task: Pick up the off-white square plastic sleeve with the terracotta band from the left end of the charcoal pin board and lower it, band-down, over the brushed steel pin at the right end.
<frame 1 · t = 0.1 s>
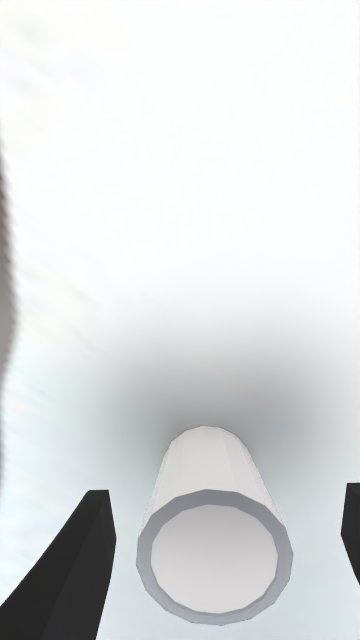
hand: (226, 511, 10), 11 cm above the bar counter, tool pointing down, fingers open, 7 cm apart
white cylinder: (206, 465, 22), on the bar counter
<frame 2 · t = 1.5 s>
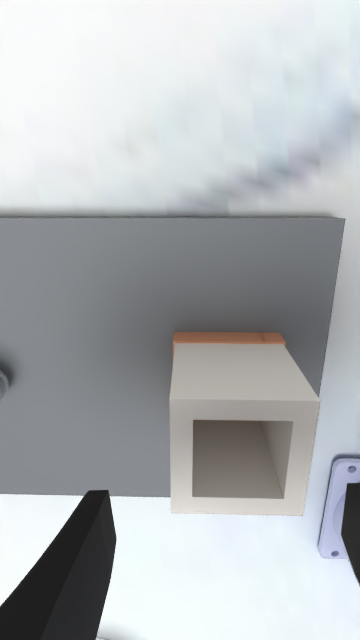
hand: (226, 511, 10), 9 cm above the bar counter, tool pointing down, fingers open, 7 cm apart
sleeve: (224, 378, 18), point 1 cm above the bar counter, touching pin board
pin board: (115, 364, 20), on the bar counter
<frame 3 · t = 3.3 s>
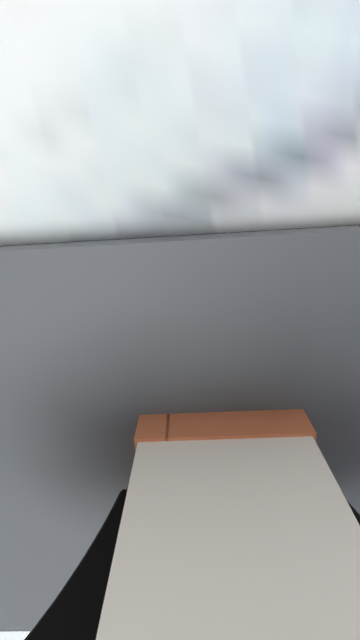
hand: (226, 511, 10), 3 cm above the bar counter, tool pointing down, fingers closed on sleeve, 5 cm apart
sleeve: (222, 476, 12), point 1 cm above the bar counter, touching gripper, pin board
pin board: (64, 452, 13), on the bar counter
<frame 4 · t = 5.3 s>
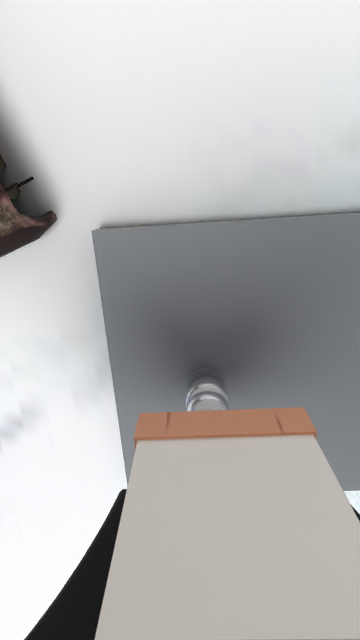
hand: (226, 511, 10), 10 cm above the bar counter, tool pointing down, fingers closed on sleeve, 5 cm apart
sleeve: (222, 475, 12), point 9 cm above the bar counter, touching gripper
steel pin: (205, 378, 19), resting on pin board
pin board: (309, 360, 20), on the bar counter
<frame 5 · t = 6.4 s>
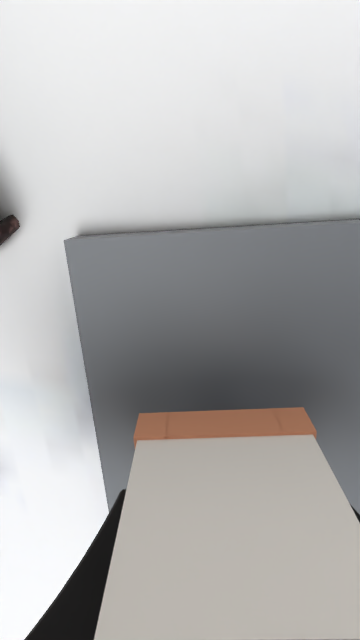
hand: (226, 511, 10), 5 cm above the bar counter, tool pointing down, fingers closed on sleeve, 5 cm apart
sleeve: (222, 475, 12), point 4 cm above the bar counter, touching gripper
pin board: (350, 406, 15), on the bar counter
when the fingers open (5 cm above the bar counter, at t = 7.4 s): sleeve drops 2 cm, resting on pin board.
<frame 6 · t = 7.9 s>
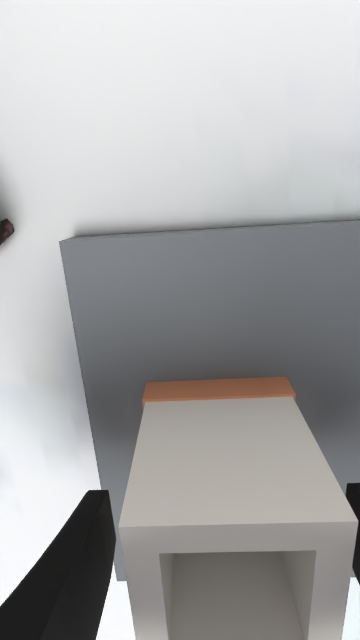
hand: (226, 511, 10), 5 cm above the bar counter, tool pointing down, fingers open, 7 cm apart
sleeve: (217, 437, 14), point 1 cm above the bar counter, touching pin board
pin board: (354, 411, 15), on the bar counter
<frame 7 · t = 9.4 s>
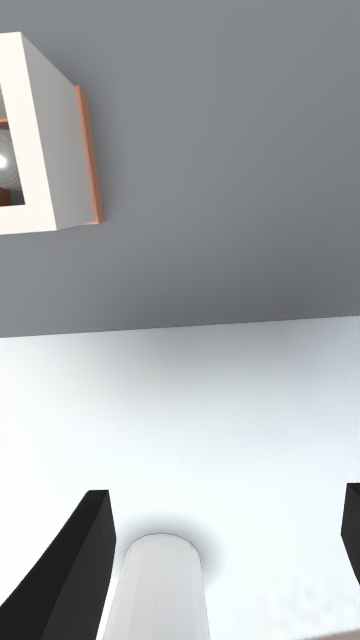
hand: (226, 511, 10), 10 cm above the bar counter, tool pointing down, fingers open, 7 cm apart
sleeve: (39, 166, 15), point 1 cm above the bar counter, touching pin board
steel pin: (40, 167, 16), resting on pin board
pin board: (174, 160, 17), on the bar counter
white cylinder: (162, 558, 26), on the bar counter
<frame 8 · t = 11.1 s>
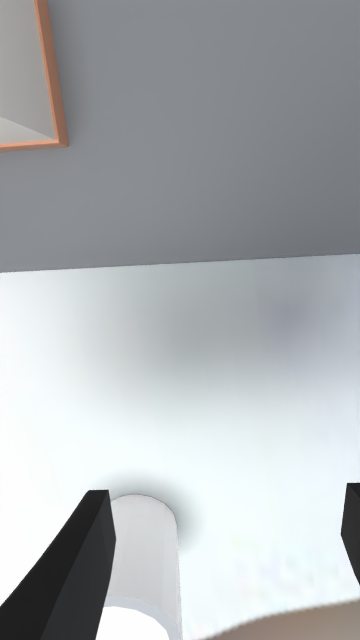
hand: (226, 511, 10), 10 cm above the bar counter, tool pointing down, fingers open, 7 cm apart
pin board: (144, 84, 16), on the bar counter
white cylinder: (138, 521, 25), on the bar counter
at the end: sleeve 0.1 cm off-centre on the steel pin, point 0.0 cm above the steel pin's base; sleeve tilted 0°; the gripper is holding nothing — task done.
